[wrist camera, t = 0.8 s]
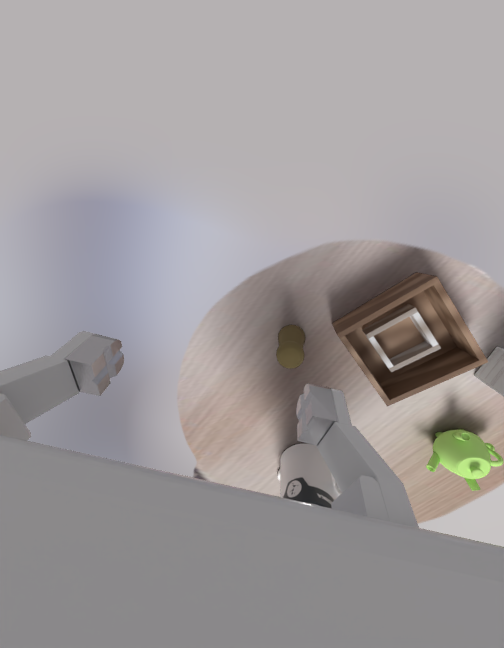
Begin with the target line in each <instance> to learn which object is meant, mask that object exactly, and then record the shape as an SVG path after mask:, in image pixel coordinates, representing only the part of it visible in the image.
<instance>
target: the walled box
mask: <svg viewBox="0 0 504 648" xmlns="http://www.w3.org/2000/svg"><path fill="white" fill-rule="evenodd" d="M332 324H333V327H334V329H335V331H336V333H337V335H338V336H339V338H340V339H341V341H342V342H343V344H344V345H345V346H346V348H347V349H348V351H349V352H350V354H351V355H352V356H353V358H354V359H355V361H356V362H357V364H358V365H359V366H360V368H361V369H362V371H363V372H364V374H365V375H366V376H367V378H368V379H369V381H370V382H371V384H372V385H373V386H374V388H375V389H376V391H377V392H378V394H379V395H380V397H381V398H382V399H383V401H384V402H385V404H386V405H387V406H389V405H391V404H394V403H396V402H398V401H400V400H403V399H405V398H407V397H410V396H412V395H414V394H416V393H419V392H421V391H423V390H426V389H428V388H430V387H432V386H435V385H437V384H439V383H442V382H444V381H446V380H449V379H451V378H453V377H455V376H458V375H460V374H462V373H465V372H467V371H469V370H471V369H474V368H476V367H478V366H481V365H483V364H485V363H487V362H488V360H487V359H486V357H485V355H484V354H483V352H482V350H481V349H480V347H479V345H478V344H477V342H476V340H475V339H474V337H473V335H472V334H471V332H470V330H469V329H468V327H467V325H466V324H465V322H464V321H463V319H462V317H461V316H460V314H459V312H458V311H457V309H456V307H455V306H454V304H453V302H452V301H451V299H450V297H449V296H448V294H447V292H446V291H445V289H444V287H443V286H442V284H441V282H440V281H439V279H438V277H437V276H432V275H427V274H422V273H417V272H416V273H415V274H413V275H411V276H410V277H408V278H406V279H405V280H403V281H401V282H400V283H398V284H396V285H395V286H393V287H391V288H390V289H388V290H386V291H385V292H383V293H382V294H380V295H378V296H377V297H375V298H373V299H372V300H370V301H368V302H367V303H365V304H363V305H362V306H360V307H358V308H357V309H355V310H353V311H352V312H350V313H348V314H347V315H345V316H343V317H342V318H340V319H338V320H337V321H335V322H333V323H332Z"/></svg>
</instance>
